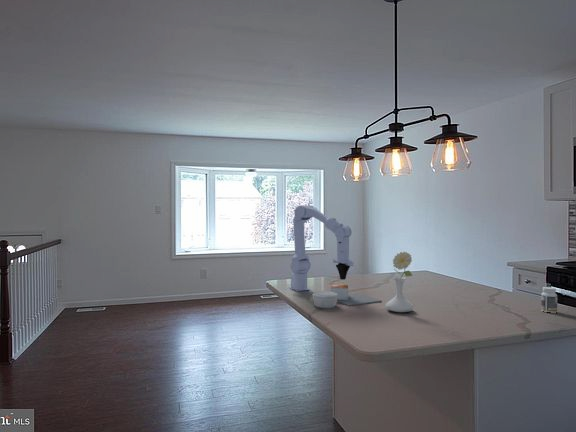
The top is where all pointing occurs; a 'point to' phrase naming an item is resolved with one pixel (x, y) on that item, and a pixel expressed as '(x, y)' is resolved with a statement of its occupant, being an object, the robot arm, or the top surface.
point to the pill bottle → (549, 300)
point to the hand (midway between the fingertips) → (342, 279)
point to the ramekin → (325, 299)
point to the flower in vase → (400, 284)
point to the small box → (340, 291)
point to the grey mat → (358, 299)
